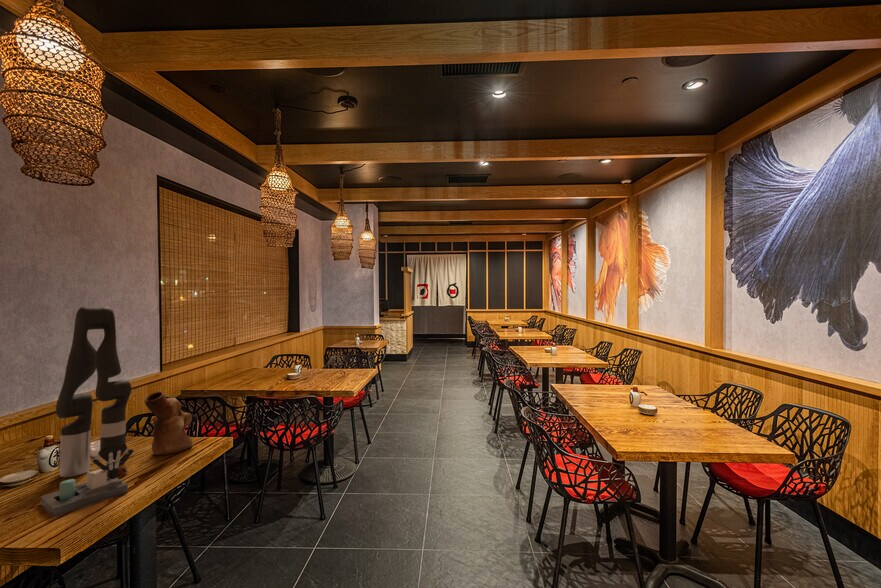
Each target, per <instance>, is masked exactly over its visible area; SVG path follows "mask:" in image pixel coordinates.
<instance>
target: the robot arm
mask: <svg viewBox="0 0 881 588" xmlns="http://www.w3.org/2000/svg"><path fill="white" fill-rule="evenodd" d="M74 318H75V319H74V327H73V328H74V329H73V336H72V337H73V338H72V341H71V348H70V351H69V354H68V358H67V363H66V367H65V373H64V378H63V383H62V386H61V389H60V392H59V394H58V398H57V401H56V403H55V415H56V417H57V418H59V419H69V418H73V417H77V418H76V419H74V420H73V421H72V422H70V423H67V424H66V425H64V426H62V427H61V429H60V450H59V451H60V454H59V457H60V458H59V460H60V461H59V462H60V463H59V477H61V478H71V477H75V476H80V475H83V474H85V473H86V474H87V471H90V469H91V462H92V463H93V464H94V465H96V466H97V467H98V468H101V469H103V470H107V477H108V478H109V479H115V478H116V476H118V467H119V466H121V465H125V463H126V462H127V461H128V460H129V458H130V457H131V455H132V454H133V453H134V449H133V448H129V447H128V446H127V444H126V443H127V439H126V438H127V422H126V410H127V409H126V408H127V404H128V402H129V399H130V396H131V394H132V388H133V387H132V384H131V382H130V381H129V380H127V379H120V380H115V381H109V379H111V378H113V377H116V376H118V375H120V374H121V372H122V368H121V367H122V366H121V362H120V359H119V355H118V349H117V330H116V328H117V327H116V317H115V312H114V310H113V309H112V308H111V307H110V306H82V307H80V308H78V310H77V311H76V314H75V317H74ZM91 330H103V332H104V333H103V334H104V335H103V336H104V337H103V339H102V342H101V343H100V344H99V347H98V348H97V350H96V348H95V347H94V346H93V345H92V343H91V342H90V340H89V339H88V338H89V337H88V331H91ZM95 372H96V373H97V376H96V377H97V380H96V387H95V397H96V399H97V400H98V401H100V402H108V401H113V400H115V401H114V403H112V404H110V405H107V406H105V407H104V408H102V410H101V419H100V420H101V425H100V432H99V433H100V434H99V436H100V437H99V440H100V451H99V453H98V456H96V457H93V458H91V455H90V443H91V437H92V435H91V434H92V433H91V429H92V427H91V426H92V416H93V415H92V413H93V403H94V401H93V396H92V394H91V393H89V392H82V393H76V392H77V390H78V389H79V388H80V387H81V386H82V385H83V384H84V383H85V382H86V381H87V380H89V379H90V378H91V377H92V376H93V375H94V373H95ZM75 393H76V394H75ZM102 460H104V461H105V464H107V466H105V465H104V463H102V462H101V461H102Z"/></svg>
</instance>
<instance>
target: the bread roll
mask: <svg viewBox="0 0 881 588" xmlns="http://www.w3.org/2000/svg"><path fill="white" fill-rule="evenodd" d="M103 465H105V466H107V464H106V463H103ZM100 469H101V468H100V467H98V468H97V470H100ZM127 469H128V467H127V466H126V464H124V465H121V466H119V467H118V476H116V478H118V479H120V478H123V477H124V476H125V475H126V473H127V474H128V472H129V471H128V470H127ZM102 470H103V469H102ZM103 471H105V472H106V473H107V470H103Z"/></svg>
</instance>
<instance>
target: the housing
mask: <svg viewBox="0 0 881 588" xmlns="http://www.w3.org/2000/svg"><path fill="white" fill-rule="evenodd" d="M128 484H129V483H126V482H125V481H123V480H122V479H120V478H115V479H109V478H108V477H107V481H106V485H104V486H101V487H98V488H94V489H90V488H88V487H87V481H86V482H83V483H80V484H75V496H74V497H71V498H68V499H65V500H62V501H59V493H60V490H57V491H54V492H53V491H52V492H49V493H47V494H43V495H41V496H40V506H41V507H42V508H43V509H44V511H46V512H47V513H48V514H49V515H50V516H51V517H52V518H53V519H54V518H57V517H59V516H62V515H65V514H69V513H71V512H74V511H77V510H80V509H84V508H86V507H89V506H92V505H95V504H98V503H101V502H104V501H106V500H110V499H112V498H116V497H118V496H121V495H125V494H127V493H128V492H129V491H128V490H129V489H128V486H129V485H128Z"/></svg>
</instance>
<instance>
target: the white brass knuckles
mask: <svg viewBox="0 0 881 588" xmlns="http://www.w3.org/2000/svg"><path fill="white" fill-rule="evenodd" d="M99 451H100V439H97V440H95V441H92V442H91V441H90V458H92V457H93V458H95V457H96V456H98V453H99Z"/></svg>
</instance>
